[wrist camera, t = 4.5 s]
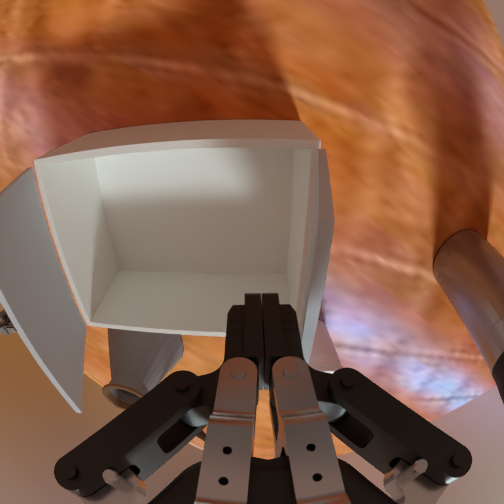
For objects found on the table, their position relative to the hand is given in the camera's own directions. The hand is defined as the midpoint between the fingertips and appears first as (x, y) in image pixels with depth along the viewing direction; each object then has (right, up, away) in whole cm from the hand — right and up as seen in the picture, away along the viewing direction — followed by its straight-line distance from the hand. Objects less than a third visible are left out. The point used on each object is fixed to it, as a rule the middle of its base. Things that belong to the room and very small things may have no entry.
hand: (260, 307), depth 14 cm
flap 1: (-16, -1, +5) cm, 17 cm away
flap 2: (+3, -1, +5) cm, 6 cm away
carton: (-7, +7, +18) cm, 21 cm away
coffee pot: (-12, -11, +30) cm, 35 cm away
